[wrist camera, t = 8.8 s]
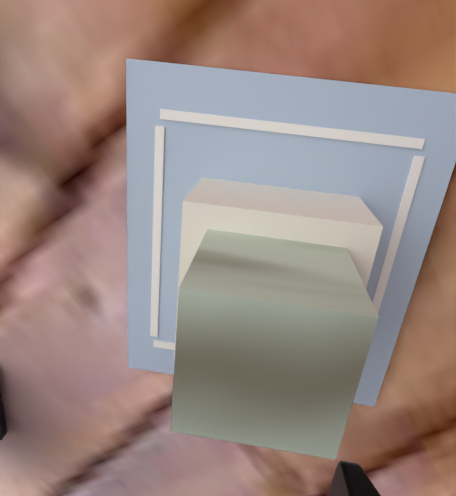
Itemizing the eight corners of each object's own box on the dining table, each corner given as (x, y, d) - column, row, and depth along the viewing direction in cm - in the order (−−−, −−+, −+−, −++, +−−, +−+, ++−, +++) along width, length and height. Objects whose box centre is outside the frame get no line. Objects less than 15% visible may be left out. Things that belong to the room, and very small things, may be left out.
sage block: (319, 360, 15) (335, 459, 11) (197, 342, 16) (170, 431, 12) (346, 248, 13) (378, 317, 9) (207, 228, 14) (179, 288, 10)
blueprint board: (371, 395, 22) (395, 473, 17) (132, 358, 23) (98, 423, 18) (468, 95, 15) (546, 97, 11) (132, 59, 16) (80, 48, 12)
